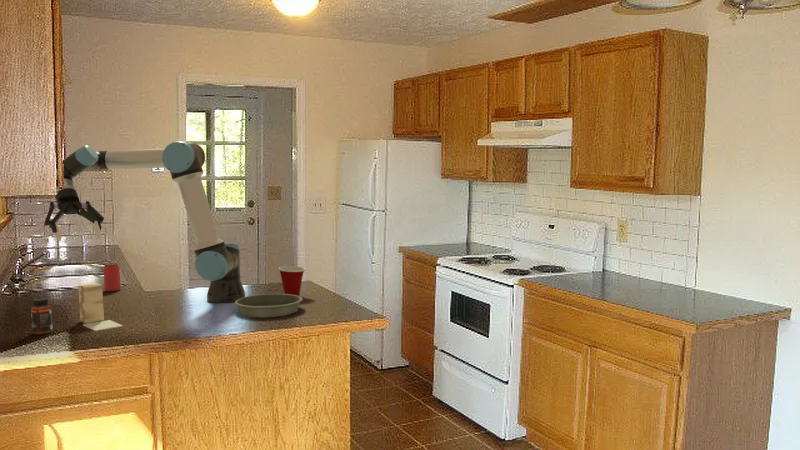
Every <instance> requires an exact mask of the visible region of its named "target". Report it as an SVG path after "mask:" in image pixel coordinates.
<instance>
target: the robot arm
mask: <svg viewBox="0 0 800 450" xmlns="http://www.w3.org/2000/svg"><path fill="white" fill-rule="evenodd" d="M94 149H95V148H93V147H92V146H90V145H83V146H81V147H79V148H78V149H76V150H75V151H73V152H72V153H71V154H70V155H68V156H66V157H65V158H63V164H64V186H63V188H62V189H61V190H59V191H58V194H57V195H54V197H55V200H56V203H55V202H54V201H50V202H49V205H48V212H47V214H46V217H45V220H44V222H43V225H44V226H49V228H50V229H51V232H52V234H53V233H55V236H56V239H57V241H58V242H61V240H62V237H63V236H62V232H61V229H60V226H59V222H58V221H59V220H60V219H61V218H62V217H63V216H64V215H66V216H67V215H78V216H79V217H83V218H84V219H86V220H88V221H89V222H91V223H92V224H93V228H94V229H93V230H94V232H95V235H96V239H97V240H100V239H101V237H102V235H103V233H102V231H101V230H102V228H103V227H102V225H101V224H103V223H104V220H105V217H104V216H103V215H102V214H101V213H100V212H99V211H97V210H96V209H95V208H94V207H93V205H92V204H91V203H90V201H88V200H86V201H85V202H81V201H80V198H79V195H78V191H77V189H76V186H75V184H74V183H75V182H74V181H73V179H74V178H75V177H77V176H79V175H80V174H82V173H83V172H85V171H107V170H108V171H109V170H130V169H131V170H132V169H133V170H134V169H137V170H138V169H140V170H141V169H162V168H163V169H164V168H165V169H167V171H169V174H170V176H171V180H172V181H173V182H175V183H176V184H177V185H178V188H179V191H180V192H179V193H180V195H181V199H182V201H183V205H184V207H185V210H186V211H185V212H186V214H187V217H188V221H189V224H190V225H189V226H190V228H191V230H192V234H193V237H194V240H195V244H196V245H195V247H194V249H193V253H194V254H195V258H196V259H195V261H194V268H195V271H196V273H197V275H198V276H199V277H200V278H201V279H203V280H206V281H208V282H209V283H210V284H209V287H208V291H207V293H206V300H207V302H210V303H215V304H216V303H220V304H221V303H233V302H234V303H235V301H236V300H238V299H240V298H243V297H247V296H246V291H245V288H244V285H243V283H242V279H241V257H240V256H241V253H240V252H241V250H240V245H239V244H238V243H237V242H225V241H224V240H223V239H222V238H220V237H219V234H218V231H217V227H216V224H215V221H214V217H213V214H212V210H211V207H210V203H209V201H208V198H207V194H206V191H205V186H204V184H203V180H202V176H203V174H204V170H203V166H204V164H205V161H206V153H205V151H204V149H203V147H202V146H201V145H199V144H198V143H196V142H192V141H184V140H177V141H172V142H170V143H168V144H167V145H166V146H165V148H148V149H146V148H145V149H144V148H143V149H142V148H141V149H123V150H122V149H120V150H119V149H117V150H116V149H115V150H94ZM56 208H57V209H58V210H59V211H58V212H57V213H56V214H55V216H53V218H52V219H51V217H52V215H53V212H54V211H55V210H56Z"/></svg>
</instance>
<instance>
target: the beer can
mask: <svg viewBox="0 0 800 450" xmlns="http://www.w3.org/2000/svg"><path fill="white" fill-rule="evenodd" d="M120 269H121V267H120V265H119V263H118V262H106V263H104V266H103V282H104V283H103V284H104V285H103V286H104V291H105V292H109V293H110V292H119V291H120V290H121V289H122V287H121V270H120Z"/></svg>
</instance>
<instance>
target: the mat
mask: <svg viewBox="0 0 800 450" xmlns="http://www.w3.org/2000/svg"><path fill="white" fill-rule="evenodd" d="M82 326H83V327H85V328H87V329H90V330H92V331H94V332H100V331H107V330H111V329H117V328H118V329H119V328H123V327H124V325H122V324H120V323H118V322H116V321H113V320H111V319H108V320H104V321H100V322H94V323H88V324H84V323H82Z"/></svg>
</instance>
